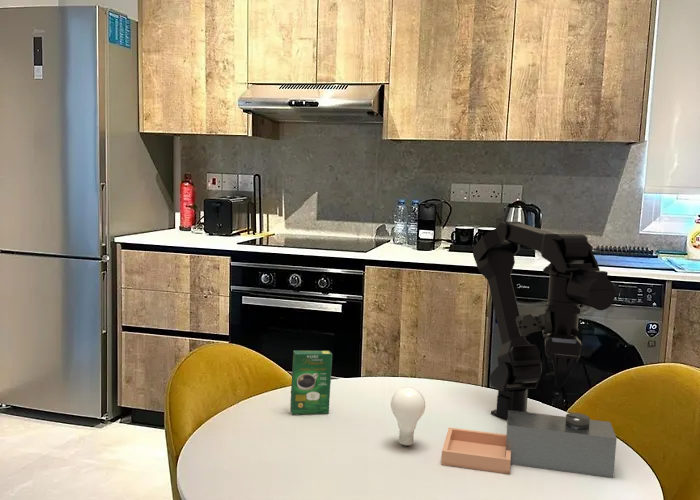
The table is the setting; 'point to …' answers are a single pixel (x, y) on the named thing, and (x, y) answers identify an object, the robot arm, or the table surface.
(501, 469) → the dish
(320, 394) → the coffee box
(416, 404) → the lightbulb
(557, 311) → the robot arm
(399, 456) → the table surface
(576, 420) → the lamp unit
